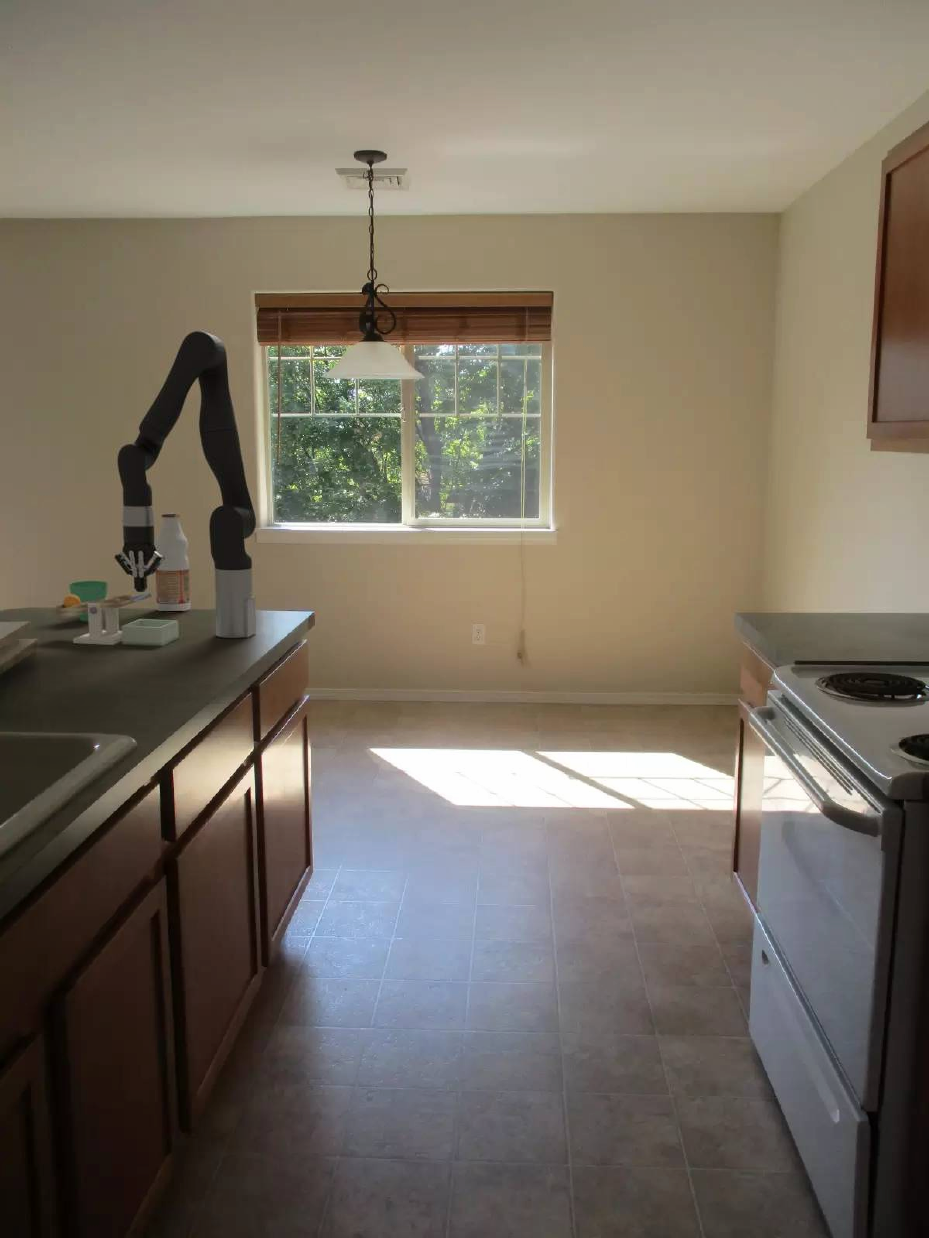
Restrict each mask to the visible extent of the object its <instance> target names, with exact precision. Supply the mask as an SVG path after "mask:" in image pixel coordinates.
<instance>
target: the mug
mask: <svg viewBox="0 0 929 1238" xmlns="http://www.w3.org/2000/svg"><path fill="white" fill-rule="evenodd" d="M68 587H69V591H70V592H69V593H70V595H71V594H73V595H76V596H78V597H79V598H80V601H81V603H86V602H91V601H97V600H102V599H105V598H107V594H108V588H109V584H108V582H106V581H103V580H101V581H99V580H86V581H85V580H84V581H83V580H82V581H75V582H70V583H68ZM103 611H104V610H103ZM103 611H101V612H102V613H103ZM78 617H79V620H80V621H81V622H89V620H88V613H86V614H80V615H78Z"/></svg>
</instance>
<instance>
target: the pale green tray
mask: <svg viewBox="0 0 929 1238" xmlns="http://www.w3.org/2000/svg"><path fill="white" fill-rule="evenodd" d="M121 631H122V641H121V642H122V643H121V644H122V645H125V646H127V645H128V646H147V647H150V646H151V647H164V646H165V645H167V644H170V643H171V642H174V641H176V640H178V639H179V636H180V635H179V620H170V619H152V618H151V619H150V618H139V619H136V620H134V621H132V622H131V621H130V622H128V623H126V624H124V625H121Z"/></svg>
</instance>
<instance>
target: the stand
mask: <svg viewBox="0 0 929 1238" xmlns="http://www.w3.org/2000/svg"><path fill="white" fill-rule="evenodd" d="M108 598H109V597H106V598H105V599H108ZM104 612H105V629H103V618H102V613H103V612H101V604H90V603H89V604H88V620H89V621H88V633H85V634H83V635H80V636H77V637H74V638H73V639H72V642H73V644H85V645H87V644H88V645H107V646H108V645H109V646H111V645H112V646H113V645H116V644H119V643H120V642H122V630H120V626H119V625H120V623H119V608H114V609H108V610H104Z"/></svg>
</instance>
